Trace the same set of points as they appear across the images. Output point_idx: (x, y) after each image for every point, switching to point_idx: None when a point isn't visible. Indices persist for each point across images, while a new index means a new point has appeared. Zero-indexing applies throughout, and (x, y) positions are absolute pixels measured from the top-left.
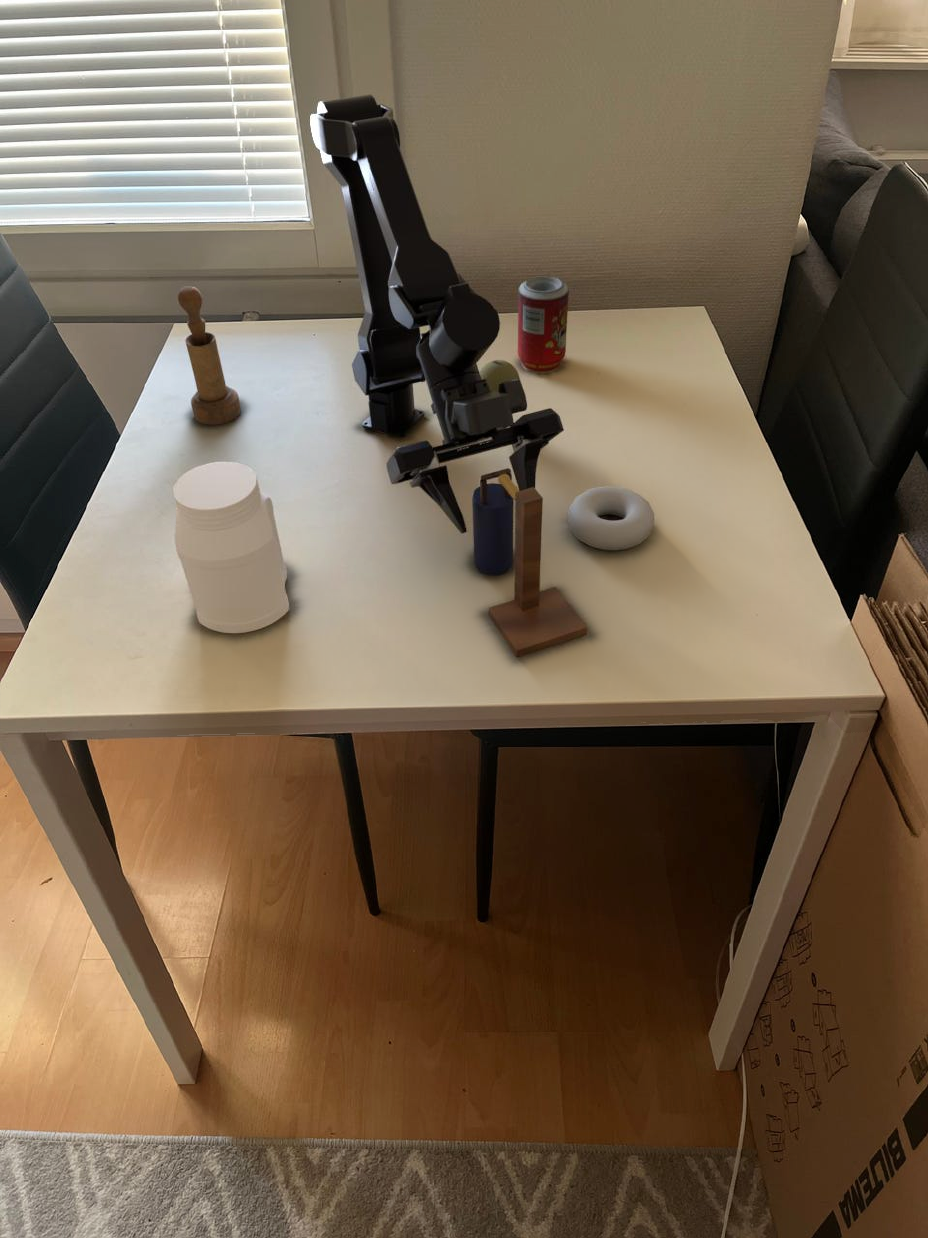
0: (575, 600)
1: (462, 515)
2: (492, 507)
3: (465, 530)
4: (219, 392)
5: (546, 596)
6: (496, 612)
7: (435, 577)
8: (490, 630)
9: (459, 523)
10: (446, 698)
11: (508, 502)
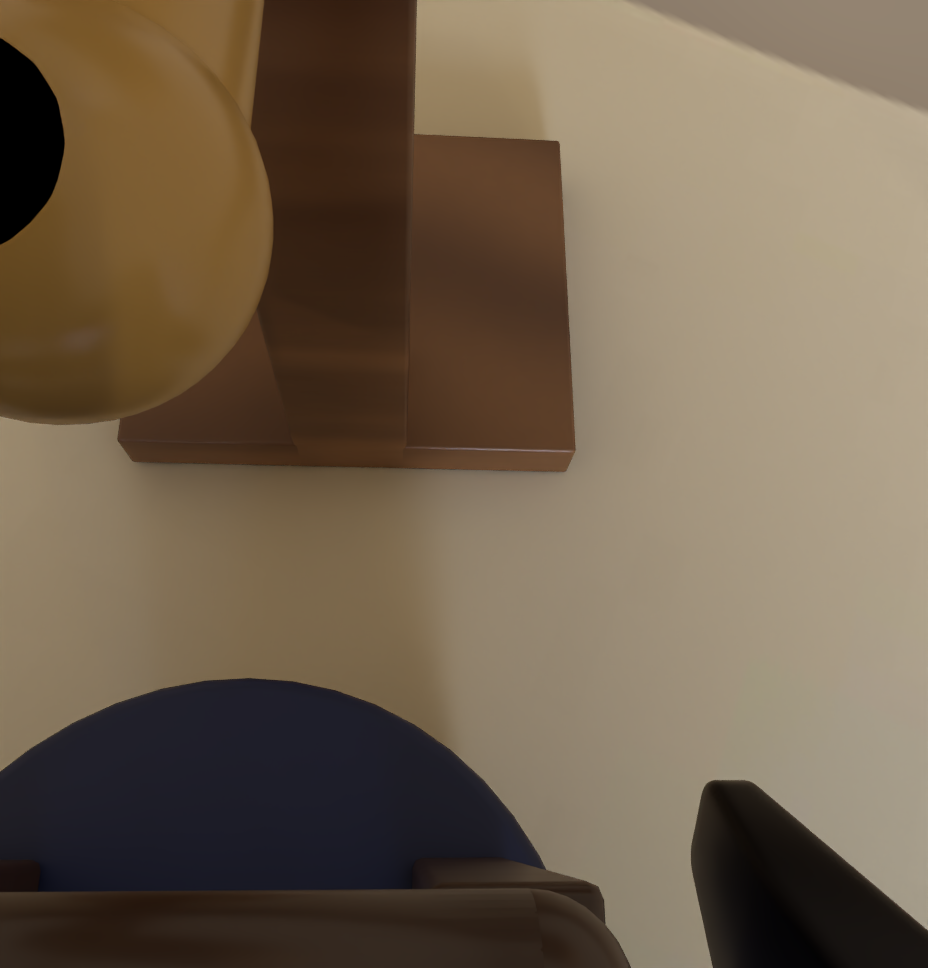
0: None
1: (790, 905)
2: (389, 713)
3: (724, 784)
4: None
5: (220, 388)
6: (547, 400)
7: None
8: (600, 368)
9: (817, 844)
10: (915, 118)
11: (96, 717)
